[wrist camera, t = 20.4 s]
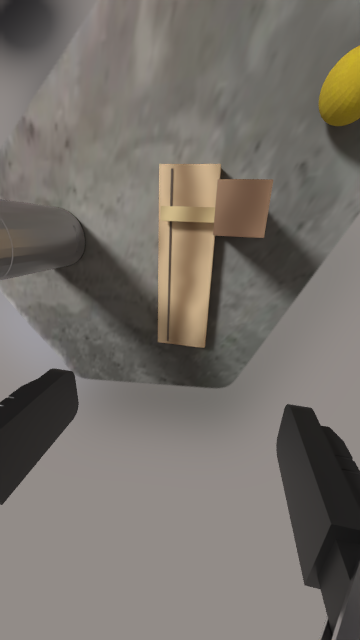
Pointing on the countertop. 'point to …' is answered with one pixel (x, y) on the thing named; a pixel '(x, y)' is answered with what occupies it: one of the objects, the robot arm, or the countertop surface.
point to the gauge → (230, 208)
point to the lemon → (342, 91)
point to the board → (185, 254)
